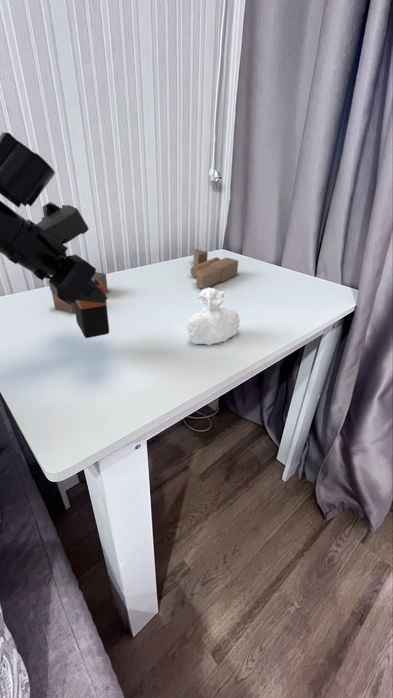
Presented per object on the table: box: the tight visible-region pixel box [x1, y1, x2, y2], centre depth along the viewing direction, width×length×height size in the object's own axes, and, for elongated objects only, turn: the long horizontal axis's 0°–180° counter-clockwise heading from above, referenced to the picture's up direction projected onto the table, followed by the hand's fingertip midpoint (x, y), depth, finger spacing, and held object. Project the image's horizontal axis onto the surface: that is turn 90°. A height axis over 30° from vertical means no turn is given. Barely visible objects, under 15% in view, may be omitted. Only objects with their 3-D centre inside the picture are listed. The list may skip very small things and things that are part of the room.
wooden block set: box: [190, 248, 239, 290], centre depth 99 cm, size 17×6×18 cm
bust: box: [185, 287, 241, 346], centre depth 68 cm, size 12×8×11 cm
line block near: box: [51, 291, 75, 315], centre depth 77 cm, size 5×5×5 cm
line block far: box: [95, 271, 109, 294], centre depth 84 cm, size 5×5×5 cm
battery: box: [74, 274, 110, 339], centre depth 57 cm, size 4×7×10 cm, turn 29°
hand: (96, 292), depth 57 cm, fingers closed on battery, 7 cm apart
